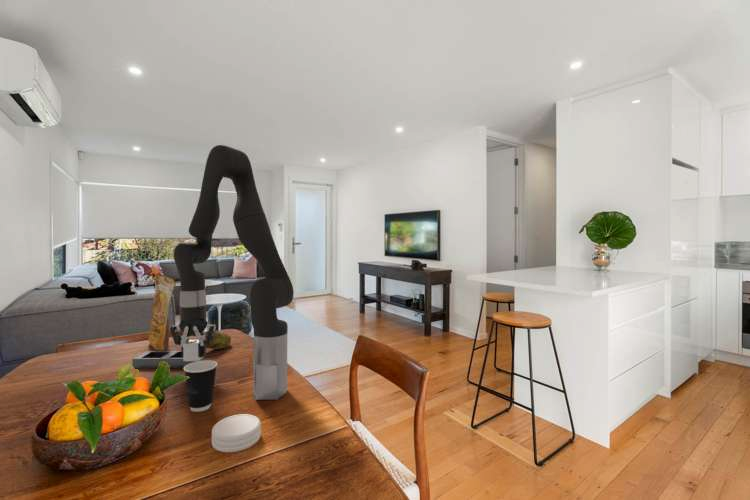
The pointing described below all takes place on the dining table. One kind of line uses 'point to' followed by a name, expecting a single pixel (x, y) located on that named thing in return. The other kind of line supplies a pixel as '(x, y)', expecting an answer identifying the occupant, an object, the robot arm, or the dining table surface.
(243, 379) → the dining table surface
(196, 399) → the dixie cup
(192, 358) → the nut block
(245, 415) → the coaster
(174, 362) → the grey compartment tray
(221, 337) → the potato
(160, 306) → the pancake mix bag
